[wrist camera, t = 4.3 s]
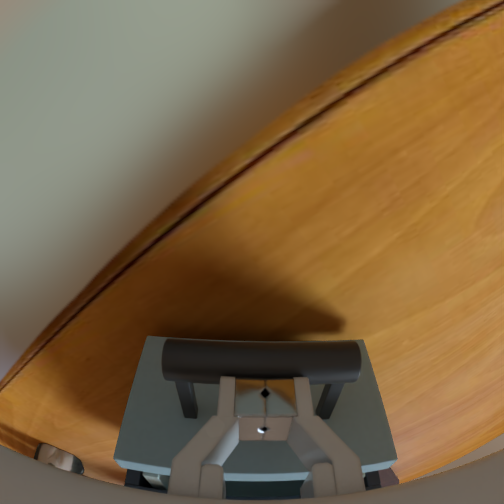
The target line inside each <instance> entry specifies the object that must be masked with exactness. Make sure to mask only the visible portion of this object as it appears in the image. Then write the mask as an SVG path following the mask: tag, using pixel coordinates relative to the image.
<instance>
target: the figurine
mask: <svg viewBox="0 0 504 504" xmlns="http://www.w3.org/2000/svg"><path fill="white" fill-rule="evenodd" d="M34 459H35V460H38V461H41V462H43V463H46V464H49V465H52V466H54V467H57V468H60V469H63V470H66V471H69V472H73V473H76V474H79V475H82V474H83V473H84V467H83V465H82V462H81V461H80V460H79V459H78V458H76V457H75V456H74V455H72V454H70V453H68V452H65V451H63V450H59V449H57V448H56V447H53V446H51V445H48V444H42V443H40V444H39V445H38V447H37V450H36V453H35V456H34Z"/></svg>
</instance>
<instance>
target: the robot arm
mask: <svg viewBox="0 0 504 504" xmlns="http://www.w3.org/2000/svg"><path fill="white" fill-rule="evenodd" d="M239 441H287V443H288V445H289V446H290V447H291V449H292V450H293V451H294V453H295V454H296V455H297V457H298V458H299V459H300V461H301V462H302V463H303V465H304V466H305V467H306V469H307V470H308V471H309V474H308V475H307V477H306V479H305V481H304V482H303V484H302V486H301V488H300V496H301V499H286V500H228V499H226V485H225V478H224V470H223V468H222V467H221V466H222V465H223V463H224V462H225V461H226V459H227V458H228V457H229V455H230V454H231V452H232V451H233V450H234V448H235V447H236V446H237V444H238V443H239ZM0 504H504V449H502V450H499V451H497V452H495V453H492V454H490V455H488V456H485V457H483V458H480V459H478V460H475V461H473V462H470V463H467V464H465V465H462V466H459V467H456V468H453V469H450V470H447V471H444V472H441V473H438V474H434V475H431V476H428V477H424V478H420V479H417V480H413V481H409V482H405V483H401V484H396V485H392V486H387V487H383V488H378V489H372V490H367V491H366V489H365V484H364V478H363V473H362V468H361V462H360V458H359V457H358V456H357V455H356V454H355V453H354V452H353V451H352V450H351V449H350V448H349V447H348V446H347V445H346V444H345V443H344V442H343V441H342V440H341V439H340V438H339V437H338V436H337V435H336V434H335V433H334V431H333V430H332V429H331V428H330V427H329V426H328V425H327V424H326V423H325V422H324V421H323V420H322V419H321V418H320V417H319V416H314V411H313V404H312V398H311V391H310V384H309V379H308V377H264V378H251V377H230V376H221V378H220V385H219V397H218V409H217V416H212V417H211V418H210V419H209V420H208V421H207V422H206V424H205V425H204V426H203V427H202V428H201V429H200V430H199V431H198V432H197V433H196V435H195V436H194V437H193V438H192V439H191V440H190V441H189V442H188V443H187V444H186V445H185V446H184V447H183V449H182V450H181V451H180V452H179V453H178V454H177V455H176V456H175V457H174V458H173V459H172V465H171V471H170V478H169V485H168V492H167V494H165V493H159V492H153V491H147V490H141V489H136V488H131V487H126V486H122V485H117V484H113V483H109V482H105V481H101V480H97V479H93V478H90V477H86V476H83V475H79V474H76V473H73V472H69V471H66V470H63V469H60V468H57V467H54V466H52V465H49V464H46V463H43V462H41V461H38V460H35V459H33V458H30V457H28V456H25V455H23V454H21V453H18V452H16V451H14V450H11V449H9V448H7V447H5V446H2V445H0Z"/></svg>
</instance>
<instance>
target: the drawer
mask: <svg viewBox="0 0 504 504" xmlns="http://www.w3.org/2000/svg"><path fill="white" fill-rule="evenodd" d="M221 376H230V377H251V378H264V377H308V379H309V384H310V391H311V398H312V404H313V411H314V416H319V417H320V418H321V419H322V420H323V421H324V422H325V423H326V424H327V425H328V426H329V427H330V428H331V429H332V430H333V431H334V433H335V434H336V435H337V436H338V437H339V438H340V439H341V440H342V441H343V442H344V443H345V444H346V445H347V446H348V447H349V448H350V449H351V450H352V451H353V452H354V453H355V454H356V455H357V456H358V457H359V458H360V462H361V468H362V473H363V478H364V477H365V473H366V472H372V471H377V470H383V469H388V468H389V467H390V466H391V465H392V464H394V463H395V462H396V461H397V459H398V458H397V454H396V450H395V446H394V442H393V438H392V435H391V431H390V427H389V423H388V420H387V416H386V413H385V409H384V405H383V402H382V398H381V395H380V392H379V388H378V385H377V382H376V378H375V375H374V372H373V368H372V365H371V362H370V359H369V356H368V353H367V349H366V346H365V343H364V340H339V341H229V340H205V339H187V338H171V337H158V336H147V338H146V341H145V344H144V348H143V351H142V354H141V357H140V361H139V364H138V367H137V371H136V374H135V378H134V381H133V384H132V388H131V391H130V395H129V399H128V402H127V406H126V410H125V413H124V417H123V421H122V425H121V429H120V432H119V436H118V440H117V444H116V449H115V453H114V457H113V459H114V460H115V461H116V462H117V463H118V464H119V466H120V467H122V468H127V469H132V470H137V471H143V476H144V477H145V479H146V480H147V481H148V482H149V483H150V484H151V486H152V487H153V488H154V489H159V490H166V491H168V485H169V478H170V471H171V465H172V459H173V458H174V457H175V456H176V455H177V454H178V453H179V452H180V451H181V450H182V449H183V447H184V446H185V445H186V444H187V443H188V442H189V441H190V440H191V439H192V438H193V437H194V436H195V435H196V433H197V432H198V431H199V430H200V429H201V428H202V427H203V426H204V425H205V424H206V422H207V421H208V420H209V419H210V418H211V417H212V416H217V409H218V397H219V385H220V378H221ZM221 467H222V468H223V470H224V478H225V485H226V496H235V497H277V496H298V495H300V488H301V486H302V484H303V482H304V481H305V479H306V477H307V475H308V474H309V471H308V470H307V469H306V467H305V466H304V465H303V463H302V462H301V461H300V459H299V458H298V457H297V455H296V454H295V453H294V451H293V450H292V449H291V447H290V446H289V445H288V443H287V441H239V443H238V444H237V446H236V447H235V448H234V450H233V451H232V452H231V454H230V455H229V457H228V458H227V459H226V461H225V462H224V463H223V465H222V466H221Z"/></svg>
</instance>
